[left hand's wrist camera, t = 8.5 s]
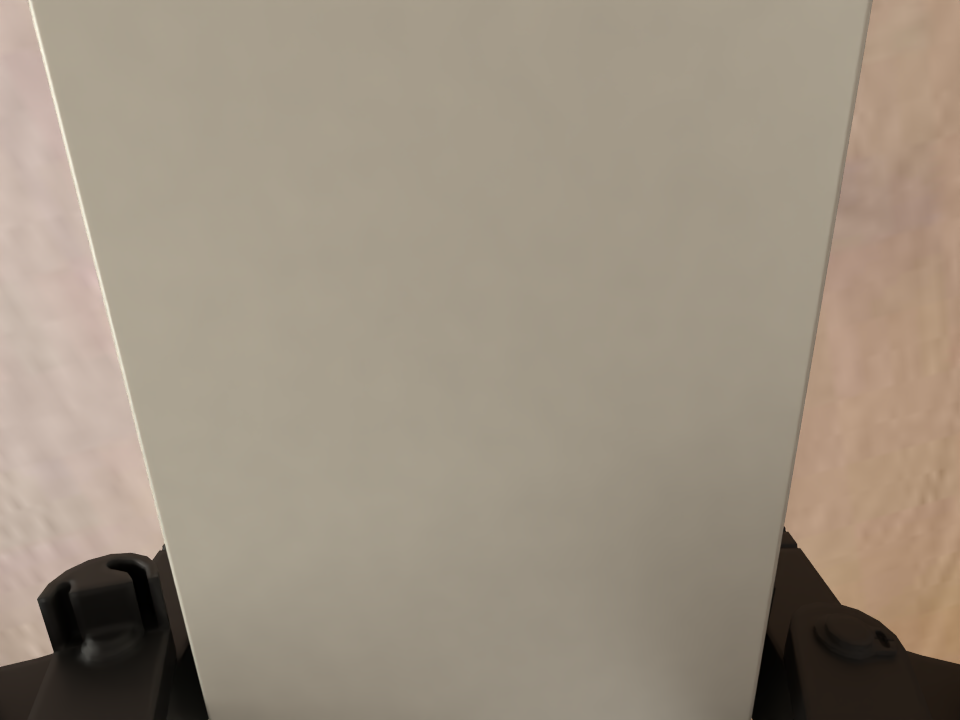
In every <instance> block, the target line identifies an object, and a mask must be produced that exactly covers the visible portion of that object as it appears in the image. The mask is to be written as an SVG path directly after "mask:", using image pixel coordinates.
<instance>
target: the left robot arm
mask: <svg viewBox="0 0 960 720" xmlns="http://www.w3.org/2000/svg"><path fill="white" fill-rule="evenodd" d="M37 600H38V603H39V607H40V610H41V613H42V616H43V619H44V622H45V625H46V629H47V632H48V635H49V638H50V641H51V644H52V647H53V651H54V653H53V654H50V655H47V656H43V657H40V658H36V659H32V660H28V661H24V662H20V663H15V664H11V665H7V666H3V667H0V720H208V719H209V717H208V713H207V709H206V705H205V701H204V697H203V693H202V689H201V685H200V681H199V677H198V673H197V669H196V665H195V662H194V658H193V654H192V650H191V646H190V642H189V638H188V634H187V630H186V626H185V622H184V618H183V614H182V610H181V606H180V602H179V598H178V594H177V590H176V586H175V582H174V578H173V574H172V570H171V566H170V562H169V558H168V555H167V551H166V547H165V544H164V545H163V549H162V551H159V552H158V553H157V555H156V556H155V557H154V559H153V560H151V559H150V558H148V557H147V556H143V555H138V554H134V553H122V554H110V555H106V556H102V557H99V558H95V559H91V560H88V561H86V562H84V563H82V564H79V565H77V566H75V567H73V568H71V569H69V570H67V571H65V572H64V573H63V574H61V575H60V576H59V577H57V578H56V579H55V580H53V581H52V582H51V583H49V584H48V585H47V587H46V588H45V589H44V591H43V592H42V593H41V595H40V596H39V597H38V599H37ZM752 719H753V720H960V664H956V663H952V662H948V661H943V660H939V659H935V658H930V657H926V656H922V655H919V654H915V653H912V652H909V651H906V650H905V648H904V647H903V645H902V644H901V642H900V641H899V639H898V638H897V636H896V635H895V634H894V633H893V632H891V631H890V630H889V629H888V628H887V627H886V626H884V625H883V624H882V623H881V622H880V621H878V620H876V619H874V618H872V617H871V616H869V615H867V614H865V613H863V612H861V611H859V610H857V609H854V608H850V607H847V606H844V605H841V604H840V602H839V601H838V600H837V598H836V597H835V595H834V594H833V593H832V591H831V590H830V589H829V587H828V586H827V584H826V583H825V582H824V580H823V579H822V578H821V576H820V575H819V573H818V572H817V571H816V569H815V568H814V567H813V565H812V564H811V562H810V561H809V560H808V558H807V557H806V556H805V554H804V553H803V551H802V550H801V549H800V548H797V543H796V542H795V540H794V539H793V538H792V536H791V535H790V534H789V532H786V531H785V527H784V528H783V534H782V540H781V546H780V552H779V558H778V564H777V570H776V576H775V582H774V587H773V593H772V599H771V605H770V611H769V617H768V623H767V629H766V635H765V641H764V647H763V653H762V659H761V664H760V670H759V676H758V682H757V688H756V694H755V700H754V706H753V712H752Z"/></svg>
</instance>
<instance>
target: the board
mask: <svg viewBox="0 0 960 720" xmlns="http://www.w3.org/2000/svg"><path fill="white" fill-rule="evenodd" d="M872 1H873V0H28V4H29V8H30V12H31V15H32V19H33V23H34V27H35V31H36V35H37V39H38V43H39V47H40V51H41V55H42V59H43V63H44V67H45V71H46V75H47V79H48V83H49V87H50V91H51V95H52V99H53V103H54V107H55V111H56V115H57V119H58V122H59V126H60V130H61V134H62V138H63V142H64V146H65V150H66V154H67V158H68V162H69V166H70V170H71V174H72V178H73V182H74V186H75V190H76V194H77V198H78V202H79V206H80V210H81V214H82V218H83V222H84V226H85V230H86V233H87V237H88V241H89V245H90V249H91V253H92V257H93V261H94V265H95V269H96V273H97V277H98V281H99V285H100V289H101V293H102V297H103V301H104V305H105V309H106V313H107V317H108V321H109V325H110V329H111V333H112V337H113V340H114V344H115V348H116V352H117V356H118V360H119V364H120V368H121V372H122V376H123V380H124V384H125V388H126V392H127V396H128V400H129V404H130V408H131V412H132V416H133V420H134V424H135V428H136V432H137V436H138V440H139V444H140V447H141V451H142V455H143V459H144V463H145V467H146V471H147V475H148V479H149V483H150V487H151V491H152V495H153V499H154V503H155V507H156V511H157V515H158V519H159V523H160V527H161V531H162V535H163V539H164V543H165V547H166V551H167V555H168V558H169V562H170V566H171V570H172V574H173V578H174V582H175V586H176V590H177V594H178V598H179V602H180V606H181V610H182V614H183V618H184V622H185V626H186V630H187V634H188V638H189V642H190V646H191V650H192V654H193V658H194V662H195V665H196V669H197V673H198V677H199V681H200V685H201V689H202V693H203V697H204V701H205V705H206V709H207V713H208V717H209V720H751V718H752V712H753V706H754V700H755V694H756V688H757V682H758V676H759V670H760V664H761V659H762V653H763V647H764V641H765V635H766V629H767V623H768V617H769V611H770V605H771V599H772V593H773V587H774V582H775V576H776V570H777V564H778V558H779V552H780V546H781V540H782V534H783V528H784V522H785V516H786V510H787V504H788V499H789V493H790V487H791V481H792V475H793V469H794V463H795V457H796V451H797V445H798V439H799V433H800V427H801V422H802V416H803V410H804V404H805V398H806V392H807V386H808V380H809V374H810V368H811V362H812V356H813V350H814V345H815V339H816V333H817V327H818V321H819V315H820V309H821V303H822V297H823V291H824V285H825V279H826V273H827V268H828V262H829V256H830V250H831V244H832V238H833V232H834V226H835V220H836V214H837V208H838V202H839V196H840V190H841V185H842V179H843V173H844V167H845V161H846V155H847V149H848V143H849V137H850V131H851V125H852V119H853V113H854V108H855V102H856V96H857V90H858V84H859V78H860V72H861V66H862V60H863V54H864V48H865V42H866V36H867V31H868V25H869V19H870V13H871V7H872Z"/></svg>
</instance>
